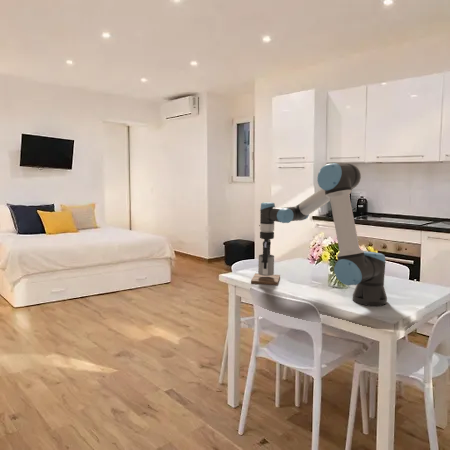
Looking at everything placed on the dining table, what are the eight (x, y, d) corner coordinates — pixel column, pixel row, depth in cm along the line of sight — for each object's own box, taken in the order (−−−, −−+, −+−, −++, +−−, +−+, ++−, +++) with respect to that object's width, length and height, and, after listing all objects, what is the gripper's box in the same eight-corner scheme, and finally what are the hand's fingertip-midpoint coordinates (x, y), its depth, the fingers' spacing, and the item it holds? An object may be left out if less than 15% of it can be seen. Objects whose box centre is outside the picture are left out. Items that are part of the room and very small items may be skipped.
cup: (272, 276, 227) (273, 257, 226) (257, 275, 229) (257, 257, 228) (274, 272, 236) (274, 254, 234) (259, 271, 237) (259, 253, 236)
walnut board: (277, 285, 224) (277, 282, 223) (251, 283, 226) (251, 280, 226) (280, 277, 239) (280, 274, 239) (255, 275, 242) (255, 273, 242)
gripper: (262, 228, 240) (261, 267, 243) (257, 233, 220) (256, 276, 223) (275, 228, 239) (274, 268, 242) (272, 234, 218) (271, 277, 221)
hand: (266, 272), depth 232 cm, fingers closed on cup, 8 cm apart
